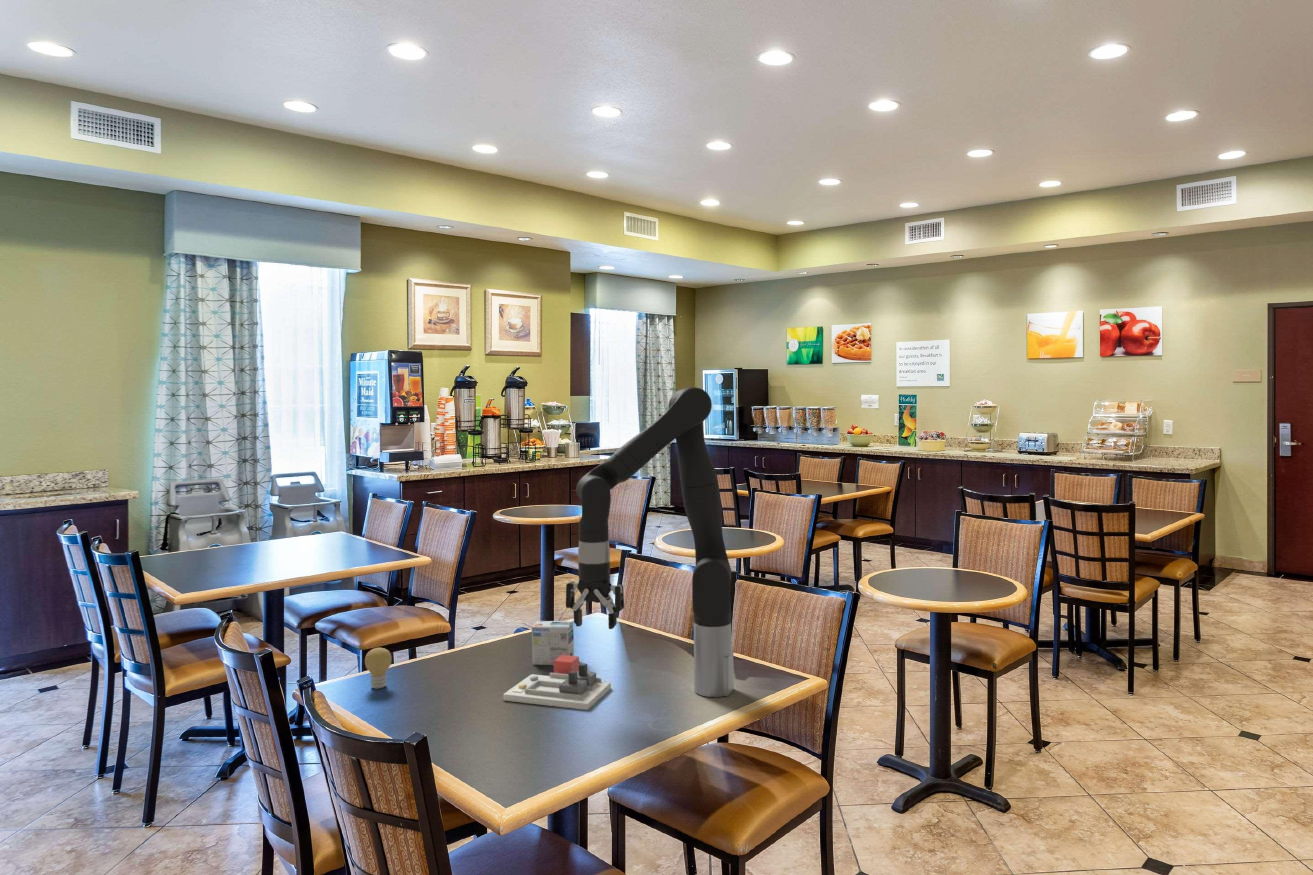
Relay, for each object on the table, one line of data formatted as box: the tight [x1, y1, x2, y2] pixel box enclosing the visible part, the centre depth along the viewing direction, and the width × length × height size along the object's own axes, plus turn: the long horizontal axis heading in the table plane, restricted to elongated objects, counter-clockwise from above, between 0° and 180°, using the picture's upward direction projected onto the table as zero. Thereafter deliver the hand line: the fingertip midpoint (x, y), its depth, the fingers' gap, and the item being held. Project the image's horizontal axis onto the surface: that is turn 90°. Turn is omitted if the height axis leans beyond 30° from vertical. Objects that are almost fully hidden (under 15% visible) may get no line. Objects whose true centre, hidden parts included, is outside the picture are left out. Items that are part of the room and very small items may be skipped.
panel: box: [502, 662, 612, 711], centre depth 198 cm, size 22×15×7 cm
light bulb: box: [364, 647, 393, 690], centre depth 204 cm, size 6×6×10 cm
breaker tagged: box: [559, 671, 587, 695], centre depth 194 cm, size 5×5×5 cm
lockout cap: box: [553, 655, 580, 674], centre depth 210 cm, size 5×5×5 cm
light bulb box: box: [531, 620, 575, 666], centre depth 223 cm, size 11×7×11 cm, turn 84°
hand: (595, 626), depth 192 cm, fingers open, 8 cm apart
